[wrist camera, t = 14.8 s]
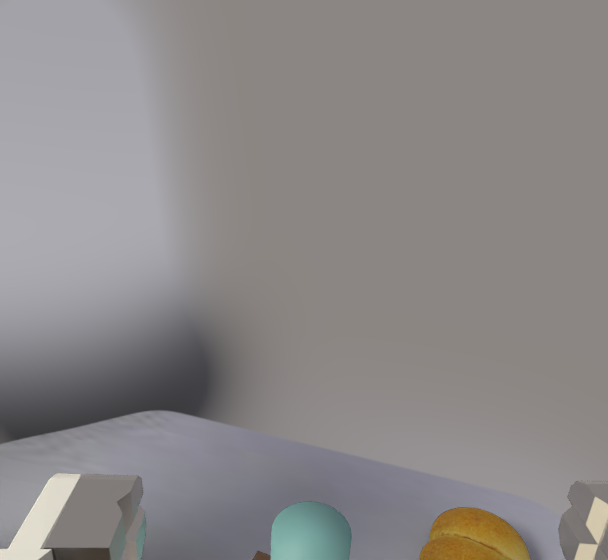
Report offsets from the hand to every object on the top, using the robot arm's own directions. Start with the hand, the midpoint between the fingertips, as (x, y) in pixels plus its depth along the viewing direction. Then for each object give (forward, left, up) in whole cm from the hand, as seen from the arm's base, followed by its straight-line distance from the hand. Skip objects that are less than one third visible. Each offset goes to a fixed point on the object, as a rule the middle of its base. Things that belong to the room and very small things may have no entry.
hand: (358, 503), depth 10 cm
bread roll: (+4, +27, -30) cm, 40 cm away
